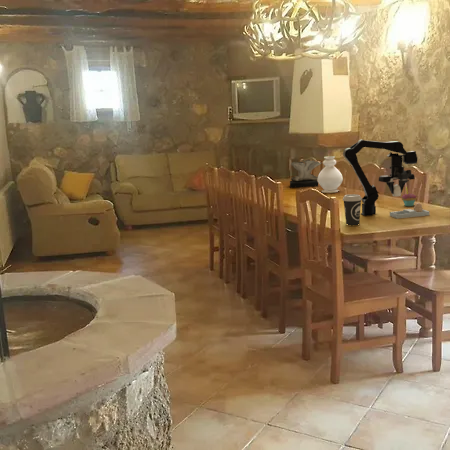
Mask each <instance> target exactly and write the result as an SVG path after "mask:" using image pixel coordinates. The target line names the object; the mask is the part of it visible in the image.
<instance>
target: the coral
mask: <svg viewBox="0 0 450 450" xmlns="http://www.w3.org/2000/svg"><path fill="white" fill-rule="evenodd" d="M321 164H322V162H319V161H317V160H316V159H315V160H313V159H312V160H311V159H307V160H305V159H302V161H298V162H297V161H296V162H294V161H293V162H290V166H292V167H293V168H294V169H295V170H296V171H297V174H298V175H296V176H292V177H291V179H290V181H289V188H290V189H294V188H298V189H299V188H313V187H319V183H318V180H317V178H318V176H315V175H314V174H311V173H312V171H313V170H314V169H316V168H317V167H318V166H320V165H321Z"/></svg>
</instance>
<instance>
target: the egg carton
mask: <svg viewBox="0 0 450 450" xmlns="http://www.w3.org/2000/svg"><path fill="white" fill-rule="evenodd" d="M425 216H430V211H429V210H427V209H423V212H416V211H414V209H410V208H407V209H406V208H405V209H402V210H398V211H391V212H390V211H389V217H391V218H394V219H406V218H407V219H408V218H417V217H425Z"/></svg>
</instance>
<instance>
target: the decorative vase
mask: <svg viewBox="0 0 450 450" xmlns="http://www.w3.org/2000/svg"><path fill="white" fill-rule="evenodd" d="M323 158H324V160H323V161H322V164H323V166H324V167H322V169H321V170H320V172H319V174H318V176H317V177H318V178H317V181H318V185H319V186H320V187H321V188H322V190H321V193H324V194H325V193H327V194H333V193H339V192H340V189H338V188H339V187H340V186H341V184H342V183H343V180H344V179H343V177H344V176H343V175H342V173H341V171H340V170H339V169H338V168H337V167H336V166H335V165H337V159H335V158H336V156H334V155H333V156H332V155H327V156H324V157H323ZM338 191H339V192H338Z"/></svg>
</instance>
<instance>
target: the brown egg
mask: <svg viewBox="0 0 450 450" xmlns="http://www.w3.org/2000/svg"><path fill="white" fill-rule="evenodd" d="M413 206H414V207H413V210H414V211H416V212H423V210H424V209H423V205H422V204H421V202H417V203H414V205H413Z"/></svg>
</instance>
